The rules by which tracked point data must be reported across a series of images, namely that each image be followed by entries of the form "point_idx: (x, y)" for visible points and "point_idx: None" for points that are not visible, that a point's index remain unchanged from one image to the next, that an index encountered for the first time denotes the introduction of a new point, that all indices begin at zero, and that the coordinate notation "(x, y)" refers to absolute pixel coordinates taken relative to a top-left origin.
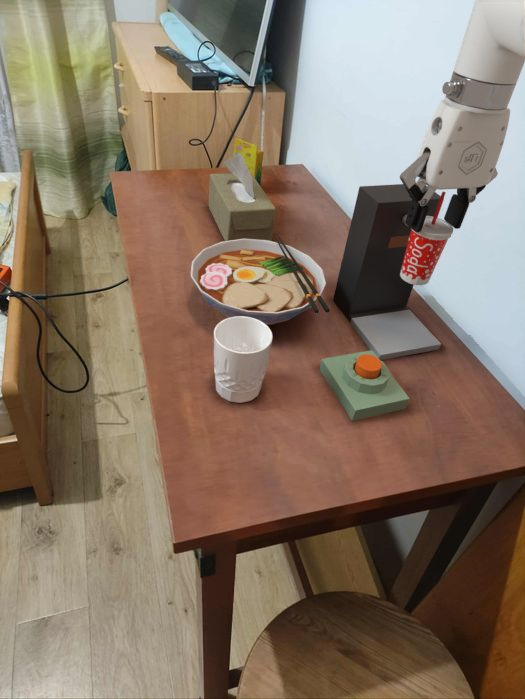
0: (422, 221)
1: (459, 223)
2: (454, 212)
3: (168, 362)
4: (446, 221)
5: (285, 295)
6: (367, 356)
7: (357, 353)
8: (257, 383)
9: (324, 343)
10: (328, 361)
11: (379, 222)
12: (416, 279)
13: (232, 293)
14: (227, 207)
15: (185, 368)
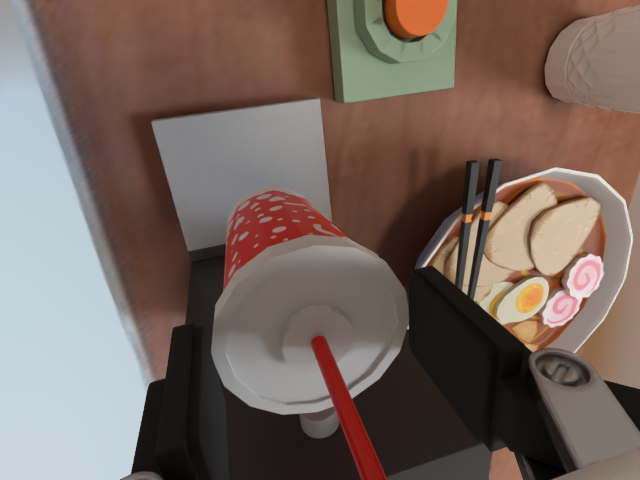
0: (453, 294)
1: (189, 340)
2: (212, 412)
3: (631, 133)
4: (219, 383)
5: (498, 236)
6: (416, 26)
7: (380, 95)
8: (601, 18)
9: (399, 161)
10: (445, 77)
11: (423, 384)
12: (295, 193)
13: (572, 244)
14: (489, 475)
15: (618, 117)
